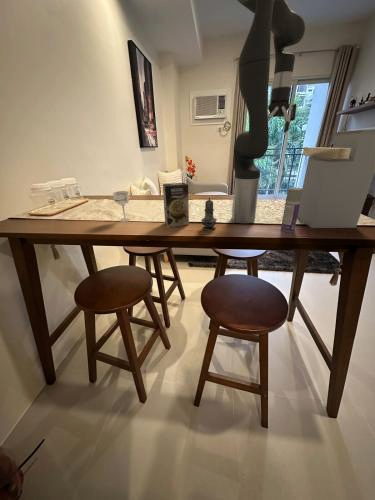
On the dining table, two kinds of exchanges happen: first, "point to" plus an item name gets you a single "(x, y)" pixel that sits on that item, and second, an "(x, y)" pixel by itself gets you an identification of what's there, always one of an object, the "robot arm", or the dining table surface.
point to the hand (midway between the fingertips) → (275, 132)
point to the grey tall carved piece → (209, 217)
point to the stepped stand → (339, 183)
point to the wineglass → (122, 201)
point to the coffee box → (176, 204)
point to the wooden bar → (327, 152)
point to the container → (291, 209)
